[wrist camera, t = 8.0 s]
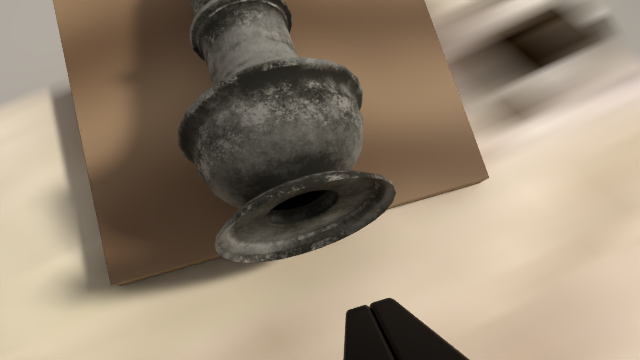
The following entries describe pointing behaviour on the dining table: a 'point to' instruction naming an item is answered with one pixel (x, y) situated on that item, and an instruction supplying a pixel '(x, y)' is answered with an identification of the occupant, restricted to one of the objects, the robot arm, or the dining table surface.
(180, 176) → the walnut board
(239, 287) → the dining table surface
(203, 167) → the dark grey tall piece
